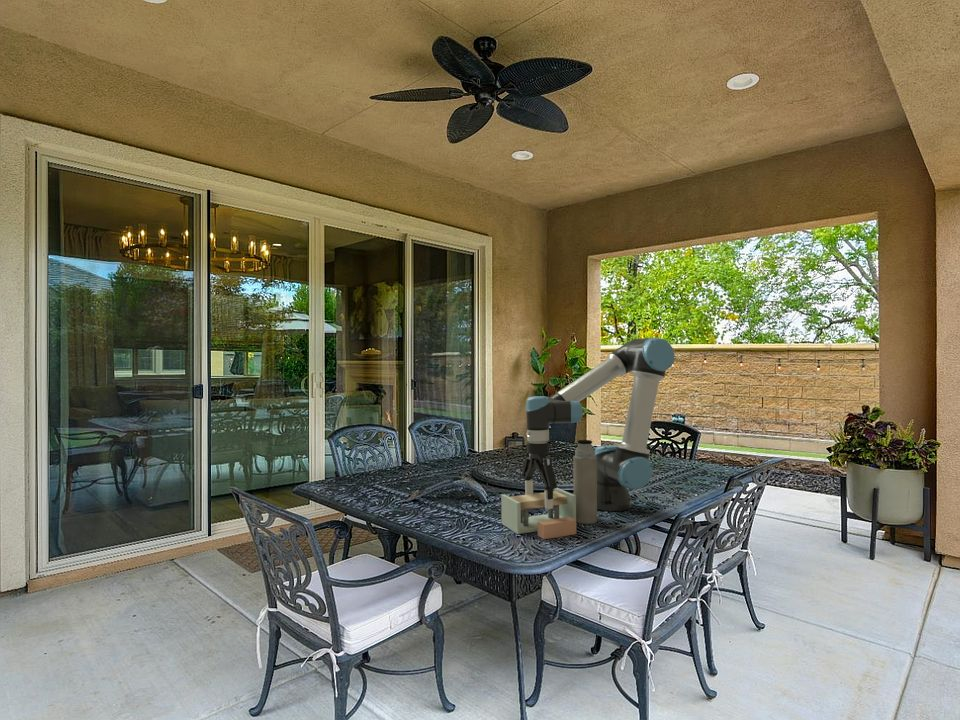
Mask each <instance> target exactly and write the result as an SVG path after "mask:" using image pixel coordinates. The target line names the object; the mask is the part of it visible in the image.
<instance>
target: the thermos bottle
mask: <svg viewBox="0 0 960 720" xmlns="http://www.w3.org/2000/svg"><path fill="white" fill-rule="evenodd" d="M592 443H593V441H592V440H591V439H590V440H589V439H578V440H577V448H575V450H574V454H575V455H573V456H572V457H573V459H572V461H573V465H572V466H573V474H572V475H573V477H572V478H573V495H576V523H577V524H578V523H579V524H587V525H589V524H595V523H597V522H598V509H597V459H596V456H594V455H595V449H593V445H592Z"/></svg>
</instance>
